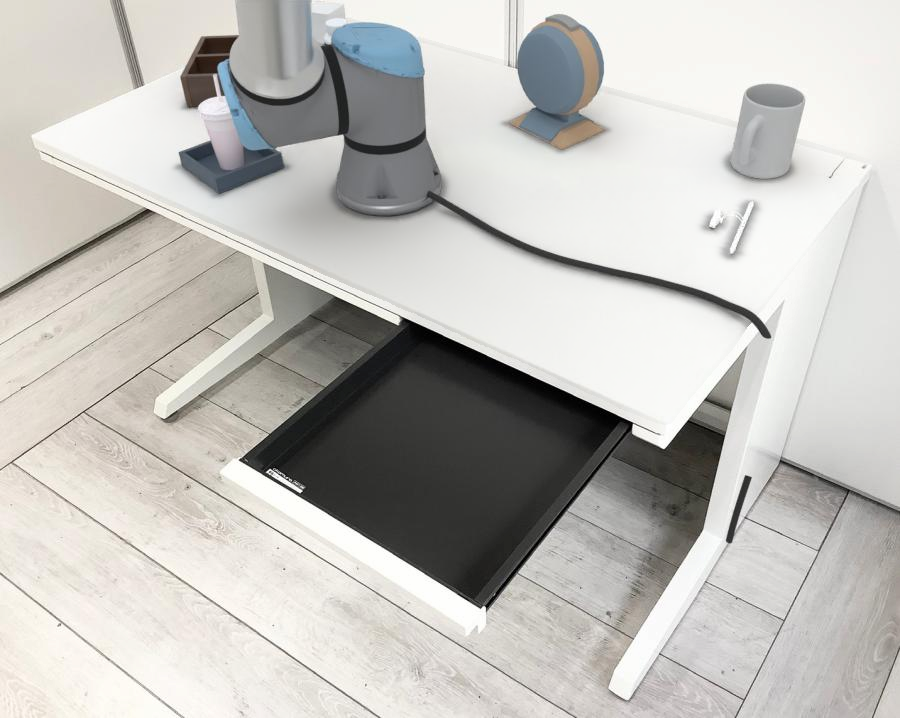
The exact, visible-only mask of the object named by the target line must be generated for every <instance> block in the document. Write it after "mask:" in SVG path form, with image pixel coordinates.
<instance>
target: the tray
mask: <svg viewBox="0 0 900 718" xmlns="http://www.w3.org/2000/svg"><path fill="white" fill-rule="evenodd" d="M243 152H244V165H243V166H241V167H239V168H236V169H234V170H224V169H222V168H221V167H220V165H219V162H218V159H217V156H216V154H215V151H214V148H213V145H212V143H211V140H210V139H209V140H207V141H205V142H202V143H199V144H197V145H194V146H191V147H189V148H186V149H183V150H181V151H178V156H179V161H180V164H181V167H182V168H183V169H184V170H186V172H188V173H190V174H191V175H192V176H194V177H195V178H197V180H199V181H200V182H202V183H203V184H205V185H206V186H207V187H209V188H210V189H211V190H213V191H214V192H215V193H217V194H218V195H220V194H222V193H225V192H227V191H230V190H233V189H235V188H238V187H239V186H243V185H245V184H247V183H250V182H253V181H255V180H258V179H260V178H262V177H265V176H267V175H270V174H271V173H275V172H277V171H279V170H282V169H284V168H285V166H284V159H283V153H282V152H280V151H279V150H277V148H276V149H269V148H268V149H261V150H249V149H247V148H245V147H244V146H243Z"/></svg>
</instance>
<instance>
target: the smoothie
mask: <svg viewBox="0 0 900 718" xmlns="http://www.w3.org/2000/svg"><path fill="white" fill-rule="evenodd" d="M213 78H214V83H215V88H216V92H217V97H213V98H210V99H207V100H205V101H203V102H202V103H201V104H200V105H199V106H198V107H197V109H198V115H199V117H200V118H201V119H202V120H203V123H204V126H205V129H206V131H207V134H208V137H209V141H210V140H211V143H212V145H213V148H214V151H215V154H216V156H217V159H218V162H219V165H220V167H221V168H222V169H224V170H234V169H236V168H239V167H241V166H243V165H244V152H243V145H242V143H241V141H240V139H239V137H238V134H237V131H236V128H235V125H234V122H233V119H232V115H231V113H230V109H229V106H228V104H227V101H226V98H225V96H221V93H220V88H219V83H218V78H217V74H214V75H213Z"/></svg>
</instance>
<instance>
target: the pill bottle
mask: <svg viewBox="0 0 900 718" xmlns="http://www.w3.org/2000/svg"><path fill="white" fill-rule="evenodd" d="M345 24H349V22H348V20H347V19H342V18H335V19H330V20H328V21H327V22H326V31H327V32H328V33H327V34H326V35H325V36H324V44H323V45H328V44H332V43H331V37H332V34H333V32H334V30H335V29H336V28H338V27H342V26H343V25H345Z"/></svg>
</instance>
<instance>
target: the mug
mask: <svg viewBox="0 0 900 718" xmlns="http://www.w3.org/2000/svg"><path fill="white" fill-rule="evenodd" d="M805 104H806V96H805V95H804V93H803V92H802V91H800V90H799V89H797V88H794V87H792V86H789V85H785V84H781V83H759V84H755V85H751V86H749V87H748V88H747V89H745V91H744V93H743V96H742V100H741V107H740V110H739V116H738V121H737V126H736V131H735V136H734V141H733V146H732V150H731V155H730V165H731V167H732V169H734V170H735V171H736V172H737V173H739V174H740V175H743V176H746V177H749V178H754V179H760V180H769V179H776V178H781V177H782V176H784V175H785V174H786V173H788V171H789V170H790V167H791V163H792V158H793V153H794V151H795V145H796V143H797V142H796V141H797V138H798V133H799V129H800V126H801V121H802V117H803V113H804V109H805Z"/></svg>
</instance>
